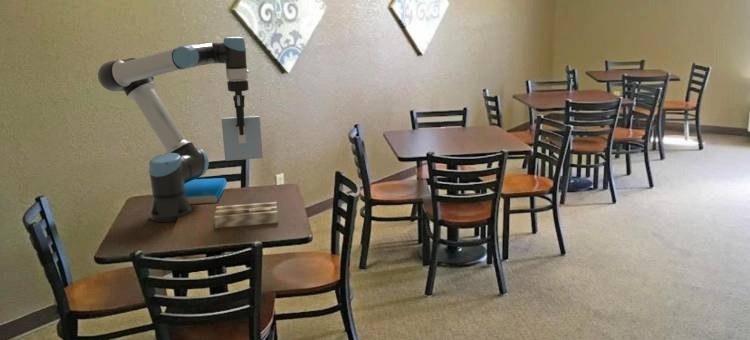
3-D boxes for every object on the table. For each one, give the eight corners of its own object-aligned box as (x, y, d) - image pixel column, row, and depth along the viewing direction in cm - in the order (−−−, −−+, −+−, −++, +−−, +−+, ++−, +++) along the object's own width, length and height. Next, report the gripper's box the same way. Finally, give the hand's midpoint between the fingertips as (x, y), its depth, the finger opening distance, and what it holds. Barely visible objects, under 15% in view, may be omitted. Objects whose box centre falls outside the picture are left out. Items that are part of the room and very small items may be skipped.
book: (175, 196, 243) (186, 179, 267) (176, 206, 245) (187, 188, 269) (218, 194, 245) (226, 176, 269) (219, 204, 246) (227, 186, 270)
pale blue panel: (225, 160, 227) (221, 118, 223) (225, 159, 229) (221, 117, 225) (262, 158, 230) (259, 116, 226) (262, 157, 232) (259, 115, 227)
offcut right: (249, 222, 217) (248, 211, 216) (250, 220, 219) (249, 208, 218) (272, 221, 218) (271, 209, 217) (272, 218, 221) (271, 207, 220)
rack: (215, 231, 213) (214, 217, 212) (217, 220, 225) (216, 206, 223) (278, 226, 217) (277, 212, 216) (277, 215, 228) (276, 201, 227)
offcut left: (218, 225, 215) (217, 212, 214) (219, 223, 217) (217, 210, 216) (244, 223, 217) (243, 210, 215) (244, 221, 219) (243, 208, 218)
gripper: (247, 81, 215) (252, 146, 221) (248, 77, 229) (253, 137, 236) (225, 82, 214) (231, 147, 220) (228, 78, 228) (233, 138, 234)
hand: (242, 142), depth 228 cm, fingers closed on pale blue panel, 2 cm apart
